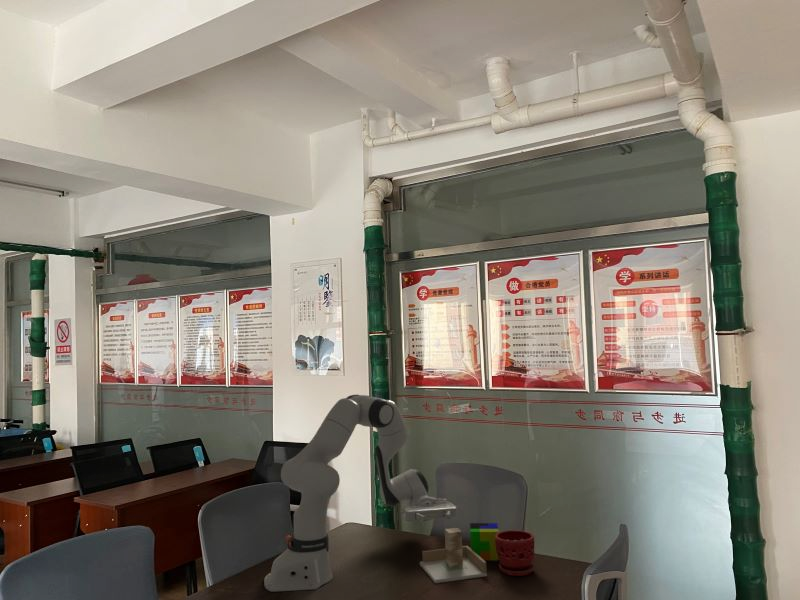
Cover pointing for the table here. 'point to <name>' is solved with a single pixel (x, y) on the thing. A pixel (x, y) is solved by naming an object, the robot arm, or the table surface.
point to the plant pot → (515, 552)
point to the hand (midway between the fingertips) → (436, 517)
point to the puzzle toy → (484, 540)
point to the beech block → (453, 548)
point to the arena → (442, 573)
